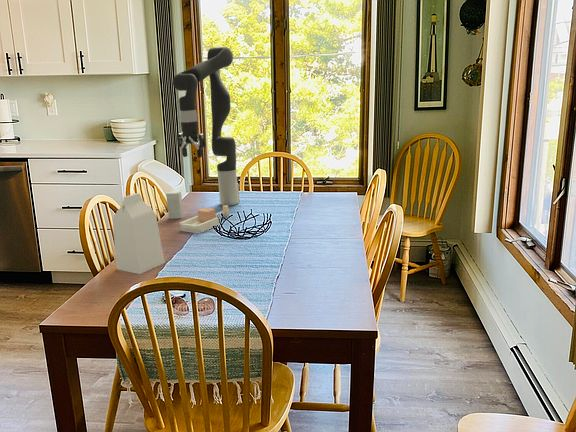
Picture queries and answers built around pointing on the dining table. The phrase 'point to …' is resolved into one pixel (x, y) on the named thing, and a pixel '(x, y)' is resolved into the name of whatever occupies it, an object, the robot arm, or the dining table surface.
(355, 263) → the dining table surface
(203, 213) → the peach block with knob
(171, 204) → the skincare box
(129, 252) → the milk
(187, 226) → the shelf lane
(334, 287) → the dining table surface
